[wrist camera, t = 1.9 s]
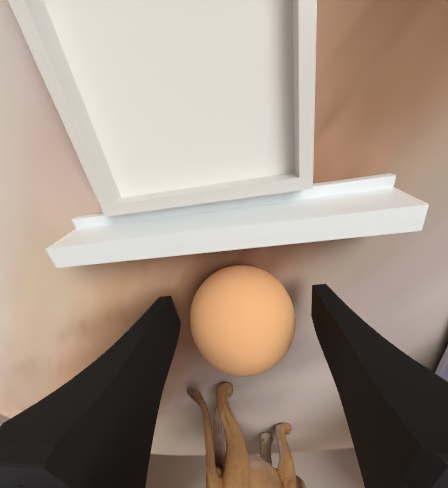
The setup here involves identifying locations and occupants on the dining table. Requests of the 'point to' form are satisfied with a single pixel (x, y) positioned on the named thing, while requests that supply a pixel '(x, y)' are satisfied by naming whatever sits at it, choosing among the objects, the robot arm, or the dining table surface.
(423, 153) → the dining table surface
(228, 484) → the lion figurine
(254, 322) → the ball
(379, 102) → the dining table surface
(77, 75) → the tray
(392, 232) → the white picture ledge
